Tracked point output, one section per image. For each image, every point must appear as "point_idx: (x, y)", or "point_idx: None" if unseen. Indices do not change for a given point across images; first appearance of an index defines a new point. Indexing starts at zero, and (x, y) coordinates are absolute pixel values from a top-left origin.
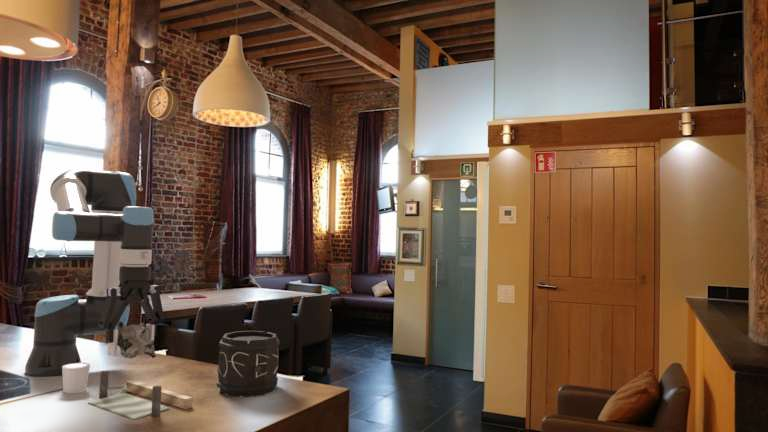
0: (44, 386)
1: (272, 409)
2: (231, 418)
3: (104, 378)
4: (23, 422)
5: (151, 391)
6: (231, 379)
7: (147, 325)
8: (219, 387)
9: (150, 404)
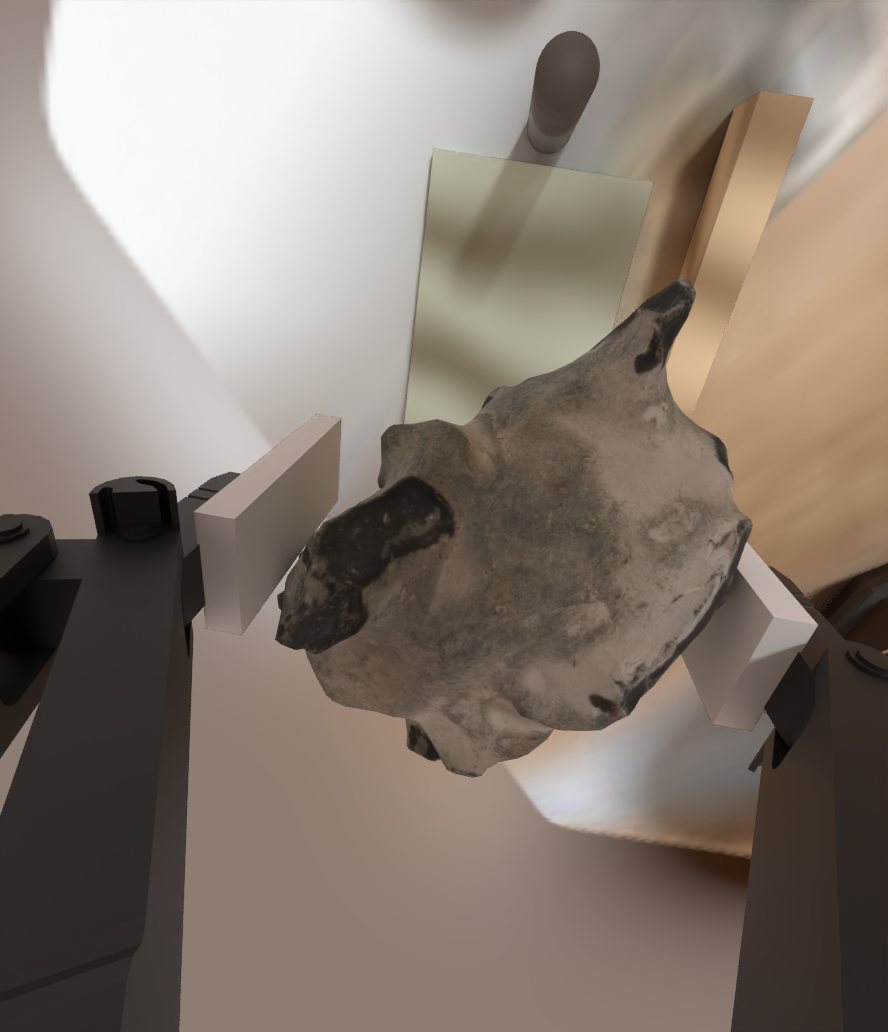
0: None
1: (685, 796)
2: (558, 746)
3: (543, 116)
4: (103, 160)
5: None
6: None
7: (748, 636)
8: (849, 597)
9: None
